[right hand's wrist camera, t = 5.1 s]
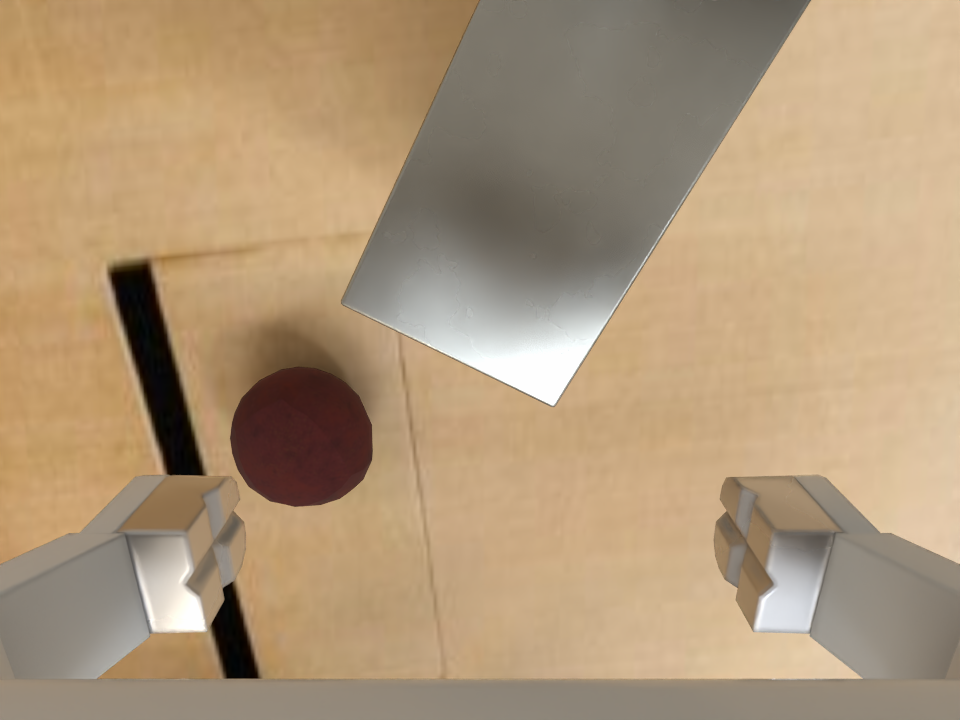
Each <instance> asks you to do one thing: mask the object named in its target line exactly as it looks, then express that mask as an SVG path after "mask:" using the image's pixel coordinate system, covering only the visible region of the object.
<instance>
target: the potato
mask: <svg viewBox="0 0 960 720" xmlns="http://www.w3.org/2000/svg"><path fill="white" fill-rule="evenodd" d="M230 440H231V447H232V454H233V457H234V460H235V463H236V466H237V469H238V471H239V472H240V474H241V475H242V477H243V478H244V480H245V482H246V483H247V485H248V486H249V487H250V488H252V489H253V490H254V491H256V492H257V493H259V494H260V495H262V496H263V497H265V498H266V499H268V500H269V501H271V502H276V503H281V504H286V505H290V506H294V507H298V506H312V505H322V504H325V503H328V502H331V501H334V500H337V499H340V498H341V497H343V496H344V495H346V494H347V493H348V492H350V491H351V490H352V489H353V488H355V487H356V486H357V485H358V484H359V483H360V482H361V481H362V480H363V479H364V477H365V474H366V472H367V470H368V468H369V465H370V463H371V461H372V452H373V448H372V424H371V422H370V420H369V418H368V415H367V413H366V411H365V409H364V406H363V404H362V402H361V400H360V397H359V396H358V395H357V394H356V393H355V392H354V391H353V390H352V389H351V388H350V387H349V386H348V385H347V384H346V383H345V382H344V381H342V380H340V379H339V378H337V377H335V376H334V375H332V374H330V373H327V372H324V371H321V370H318V369H315V368H305V367H294V368H288V369H282V370H279V371H277V372H275V373H273V374H271V375H269V376H267V377H265V378H263V379H261V380H260V381H259V382H257V383H256V384H255V385H254V386H253V387H252V388H251V389H250V390H249V391H248V392H247V393H246V394H245V395H244V396H243V397H242V399H241V401H240V403H239V405H238V407H237V409H236V411H235V414H234V418H233V421H232V428H231V436H230Z"/></svg>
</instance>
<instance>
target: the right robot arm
mask: <svg viewBox="0 0 960 720" xmlns="http://www.w3.org/2000/svg"><path fill="white" fill-rule="evenodd" d="M239 500H240V496H239V491H238V486H237V482H236V481H235V480H234V479H233V478H232V477H231V476H183V475H173V476H170V475H142V476H137V477H135V478H134V479H133V480H132V481H131V482H130V483H129V484H128V485H127V486H126V487H125V488H124V489H123V490H122V491H121V492H120V493H119V494H118V495H117V496H116V497H115V498H114V499H113V500H112V501H111V502H110V503H109V504H108V505H107V506H106V507H105V508H104V509H103V510H102V511H101V512H100V513H99V514H98V515H97V516H96V517H95V518H94V519H93V520H92V521H91V522H90V523H89V524H88V525H87V526H86V527H85V528H84V529H83V530H82V531H81V532H80V533H69V534H66V535H64V536H62V537H60V538H58V539H55V540H53V541H51V542H49V543H46V544H44V545H42V546H40V547H38V548H35V549H33V550H31V551H29V552H26V553H24V554H22V555H20V556H18V557H15V558H13V559H11V560H9V561H7V562H4V563H2V564H0V720H960V564H958V563H956V562H953V561H951V560H949V559H947V558H944V557H942V556H940V555H938V554H936V553H933V552H931V551H929V550H927V549H925V548H922V547H920V546H918V545H916V544H914V543H911V542H909V541H907V540H905V539H902V538H900V537H898V536H896V535H894V534H891V533H880V532H879V531H878V530H877V529H876V528H875V527H874V526H873V525H872V524H871V523H870V522H869V521H868V520H867V519H866V518H865V517H864V516H863V515H862V514H861V513H860V512H859V511H858V510H857V509H856V508H855V507H854V506H853V505H852V504H851V503H850V502H849V501H848V500H847V499H846V498H845V497H844V496H843V495H842V494H841V493H840V492H839V491H838V490H837V489H836V488H835V487H834V486H833V484H832V483H831V482H830V481H829V480H828V479H827V478H825V477H823V476H820V475H795V476H763V477H728V478H726V479H725V481H724V483H723V485H722V490H721V495H720V500H721V502H722V504H723V505H724V507H725V508H726V510H727V511H726V512H725V513H724V514H723V515H722V516H721V517H720V518H719V519H718V521H717V522H716V526H715V534H714V547H715V557H716V560H717V563H718V567H719V569H720V571H721V573H722V575H723V577H724V579H725V580H726V581H728V582H729V583H731V584H732V585H734V586H735V587H737V588H738V590H737V595H736V601H737V603H738V605H739V607H740V608H741V610H742V612H743V614H744V616H745V618H746V619H747V621H748V623H749V625H750V627H751V629H752V630H753V632H773V633H810V637H811V638H813V639H814V640H815V641H817V642H818V643H819V644H820V645H822V646H823V647H824V648H825V649H827V650H828V651H829V652H830V653H832V654H833V655H834V656H835V657H837V658H838V659H839V660H840V661H842V662H843V663H844V664H846V665H847V666H848V667H849V668H851V669H852V670H853V671H854V672H856V673H857V674H858V675H859V676H861V677H862V678H863V679H97V678H98V677H100V676H101V675H102V674H103V673H105V672H106V671H107V670H108V669H110V668H111V667H112V666H113V665H115V664H116V663H117V662H118V661H120V660H121V659H122V658H124V657H125V656H126V655H127V654H129V653H130V652H131V651H132V650H134V649H135V648H136V647H137V646H139V645H140V644H141V643H142V642H144V641H145V640H146V639H148V638H149V637H150V633H185V632H207V630H208V629H209V627H210V625H211V623H212V621H213V619H214V618H215V616H216V614H217V612H218V610H219V608H220V607H221V605H222V603H223V601H224V595H223V590H222V588H223V587H225V586H226V585H228V584H229V583H231V582H232V581H234V580H235V579H236V577H237V575H238V573H239V571H240V569H241V567H242V563H243V559H244V555H245V550H246V532H245V525H244V522H243V521H242V520H241V518H240V517H239V516H238V515H237V514H236V513H235V512H234V511H233V510H234V508H235V507H236V505H237V504H238V502H239Z"/></svg>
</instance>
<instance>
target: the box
mask: <svg viewBox="0 0 960 720" xmlns="http://www.w3.org/2000/svg"><path fill="white" fill-rule="evenodd" d="M810 1H811V0H479V2H478V4H477V6H476V8H475V10H474V13H473V15H472V17H471V19H470V21H469V24H468V26H467V28H466V30H465V32H464V34H463V37H462V39H461V41H460V43H459V45H458V47H457V50H456V52H455V54H454V56H453V58H452V60H451V63H450V65H449V67H448V69H447V71H446V74H445V76H444V78H443V80H442V82H441V84H440V87H439V89H438V91H437V93H436V95H435V97H434V100H433V102H432V104H431V106H430V108H429V110H428V113H427V115H426V117H425V119H424V121H423V123H422V126H421V128H420V130H419V132H418V134H417V137H416V139H415V141H414V143H413V145H412V147H411V150H410V152H409V154H408V156H407V158H406V160H405V163H404V165H403V167H402V169H401V171H400V173H399V176H398V178H397V180H396V182H395V184H394V187H393V189H392V191H391V193H390V195H389V197H388V200H387V202H386V204H385V206H384V208H383V210H382V213H381V215H380V217H379V219H378V221H377V223H376V226H375V228H374V230H373V232H372V234H371V236H370V239H369V241H368V243H367V245H366V247H365V250H364V252H363V254H362V256H361V258H360V260H359V263H358V265H357V267H356V269H355V271H354V273H353V276H352V278H351V280H350V282H349V284H348V286H347V289H346V291H345V293H344V295H343V297H342V300H341V304H342V305H343V306H345V307H347V308H349V309H351V310H353V311H355V312H358V313H360V314H362V315H364V316H366V317H368V318H370V319H372V320H374V321H376V322H378V323H380V324H382V325H384V326H386V327H388V328H390V329H392V330H395V331H397V332H399V333H401V334H403V335H405V336H407V337H409V338H411V339H413V340H415V341H417V342H419V343H421V344H423V345H425V346H427V347H429V348H432V349H434V350H436V351H438V352H440V353H442V354H444V355H446V356H448V357H450V358H452V359H454V360H456V361H458V362H460V363H462V364H464V365H466V366H469V367H471V368H473V369H475V370H477V371H479V372H481V373H483V374H485V375H487V376H489V377H491V378H493V379H495V380H497V381H499V382H501V383H503V384H506V385H508V386H510V387H512V388H514V389H516V390H518V391H520V392H522V393H524V394H526V395H528V396H530V397H532V398H534V399H536V400H538V401H540V402H543V403H545V404H547V405H549V406H551V407H555V406H556V405H557V403H558V401H559V400H560V398H561V397H562V395H563V393H564V392H565V390H566V389H567V387H568V385H569V384H570V382H571V381H572V379H573V378H574V376H575V374H576V373H577V371H578V370H579V368H580V366H581V365H582V363H583V362H584V360H585V358H586V357H587V355H588V354H589V352H590V351H591V349H592V347H593V346H594V344H595V343H596V341H597V339H598V338H599V336H600V335H601V333H602V331H603V330H604V328H605V327H606V325H607V324H608V322H609V320H610V319H611V317H612V316H613V314H614V312H615V311H616V309H617V308H618V306H619V304H620V303H621V301H622V300H623V298H624V297H625V295H626V293H627V292H628V290H629V289H630V287H631V285H632V284H633V282H634V281H635V279H636V277H637V276H638V274H639V273H640V271H641V270H642V268H643V266H644V265H645V263H646V262H647V260H648V258H649V257H650V255H651V254H652V252H653V250H654V249H655V247H656V246H657V244H658V243H659V241H660V239H661V238H662V236H663V235H664V233H665V231H666V230H667V228H668V227H669V225H670V223H671V222H672V220H673V219H674V217H675V216H676V214H677V212H678V211H679V209H680V208H681V206H682V204H683V203H684V201H685V200H686V198H687V196H688V195H689V193H690V192H691V190H692V189H693V187H694V185H695V184H696V182H697V181H698V179H699V177H700V176H701V174H702V173H703V171H704V169H705V168H706V166H707V165H708V163H709V162H710V160H711V158H712V157H713V155H714V154H715V152H716V150H717V149H718V147H719V146H720V144H721V142H722V141H723V139H724V138H725V136H726V135H727V133H728V131H729V130H730V128H731V127H732V125H733V123H734V122H735V120H736V119H737V117H738V115H739V114H740V112H741V111H742V109H743V108H744V106H745V104H746V103H747V101H748V100H749V98H750V96H751V95H752V93H753V92H754V90H755V88H756V87H757V85H758V84H759V82H760V81H761V79H762V77H763V76H764V74H765V73H766V71H767V69H768V68H769V66H770V65H771V63H772V61H773V60H774V58H775V57H776V55H777V54H778V52H779V50H780V49H781V47H782V46H783V44H784V42H785V41H786V39H787V38H788V36H789V34H790V33H791V31H792V30H793V28H794V27H795V25H796V23H797V22H798V20H799V19H800V17H801V15H802V14H803V12H804V11H805V9H806V7H807V6H808V4H809V3H810Z"/></svg>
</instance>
